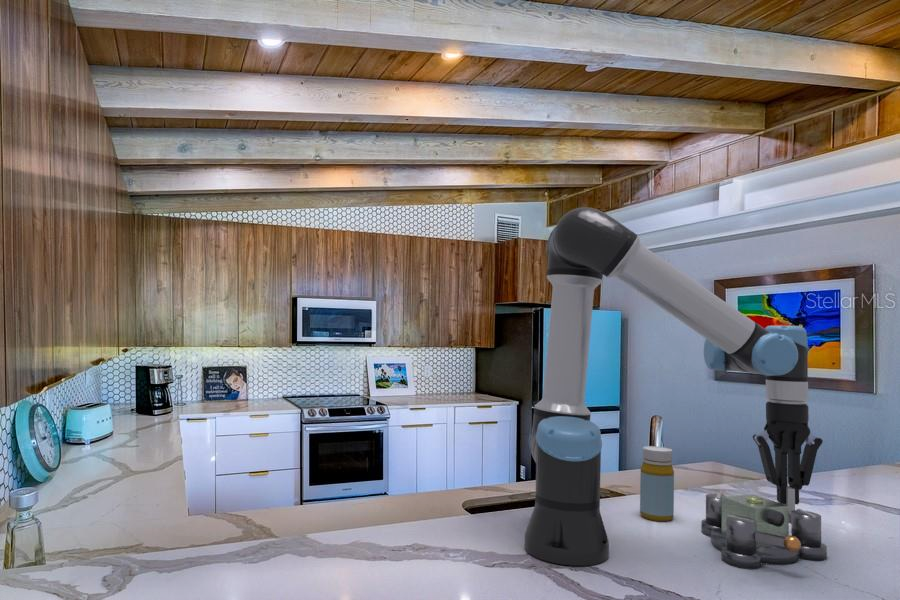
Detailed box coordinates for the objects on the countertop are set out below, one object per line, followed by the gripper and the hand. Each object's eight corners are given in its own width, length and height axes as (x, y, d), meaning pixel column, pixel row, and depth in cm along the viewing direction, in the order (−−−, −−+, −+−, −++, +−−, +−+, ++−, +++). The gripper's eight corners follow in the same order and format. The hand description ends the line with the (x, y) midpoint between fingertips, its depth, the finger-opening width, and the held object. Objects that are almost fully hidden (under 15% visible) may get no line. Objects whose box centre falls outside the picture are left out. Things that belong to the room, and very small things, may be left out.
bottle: (676, 523, 126) (676, 452, 127) (641, 520, 127) (642, 450, 128) (670, 514, 133) (671, 447, 134) (638, 511, 134) (639, 444, 135)
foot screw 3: (827, 546, 108) (827, 516, 108) (802, 546, 107) (802, 516, 108) (785, 526, 120) (785, 498, 120) (763, 526, 119) (763, 498, 119)
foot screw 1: (731, 528, 117) (731, 500, 117) (705, 524, 119) (705, 496, 119) (731, 513, 128) (731, 487, 128) (707, 509, 130) (707, 484, 130)
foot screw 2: (722, 549, 105) (723, 517, 105) (730, 542, 108) (730, 512, 109) (797, 567, 97) (797, 533, 97) (803, 560, 101) (803, 527, 101)
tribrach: (741, 570, 101) (741, 513, 101) (663, 532, 120) (664, 484, 120) (834, 559, 108) (834, 505, 109) (747, 525, 127) (747, 479, 127)
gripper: (809, 400, 123) (810, 516, 121) (745, 398, 124) (746, 513, 122) (830, 404, 115) (832, 527, 114) (762, 402, 116) (764, 524, 114)
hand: (788, 520), depth 118 cm, fingers closed
